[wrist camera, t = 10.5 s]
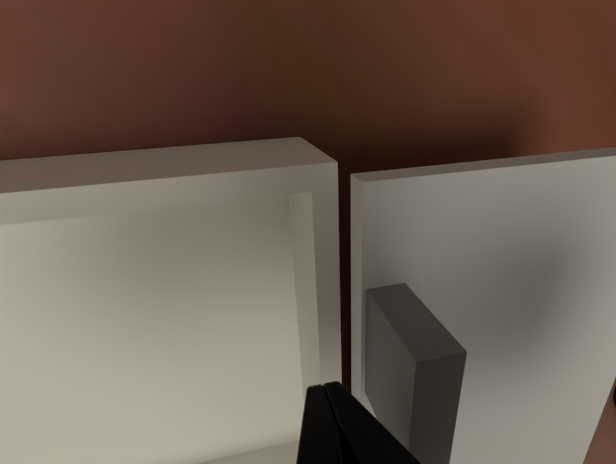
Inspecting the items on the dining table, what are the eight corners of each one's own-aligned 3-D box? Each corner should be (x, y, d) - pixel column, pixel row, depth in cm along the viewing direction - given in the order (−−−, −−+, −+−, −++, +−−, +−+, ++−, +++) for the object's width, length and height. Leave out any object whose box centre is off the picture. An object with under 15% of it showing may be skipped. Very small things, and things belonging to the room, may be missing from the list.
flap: (547, 491, 19) (624, 588, 15) (351, 547, 17) (384, 673, 13) (666, 142, 12) (865, 165, 8) (350, 173, 10) (420, 222, 6)
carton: (317, 436, 23) (344, 545, 17) (-74, 524, 19) (-197, 698, 14) (300, 136, 15) (337, 161, 10) (-343, 187, 12) (-843, 272, 6)
